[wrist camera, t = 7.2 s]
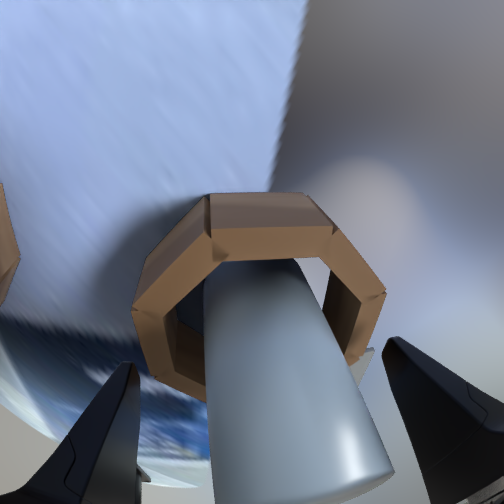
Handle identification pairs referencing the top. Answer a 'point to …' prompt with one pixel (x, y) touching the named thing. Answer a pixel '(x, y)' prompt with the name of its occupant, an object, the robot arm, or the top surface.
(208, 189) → the top surface
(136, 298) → the ring
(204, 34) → the top surface
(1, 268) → the ring
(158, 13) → the top surface
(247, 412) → the grey tube
